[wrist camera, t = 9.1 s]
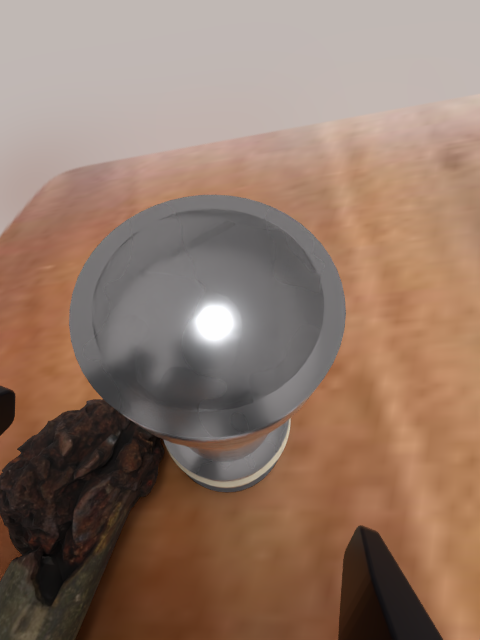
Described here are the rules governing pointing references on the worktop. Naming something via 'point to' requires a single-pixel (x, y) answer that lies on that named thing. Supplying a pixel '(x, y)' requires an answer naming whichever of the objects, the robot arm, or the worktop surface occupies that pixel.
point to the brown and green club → (69, 515)
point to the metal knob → (209, 327)
